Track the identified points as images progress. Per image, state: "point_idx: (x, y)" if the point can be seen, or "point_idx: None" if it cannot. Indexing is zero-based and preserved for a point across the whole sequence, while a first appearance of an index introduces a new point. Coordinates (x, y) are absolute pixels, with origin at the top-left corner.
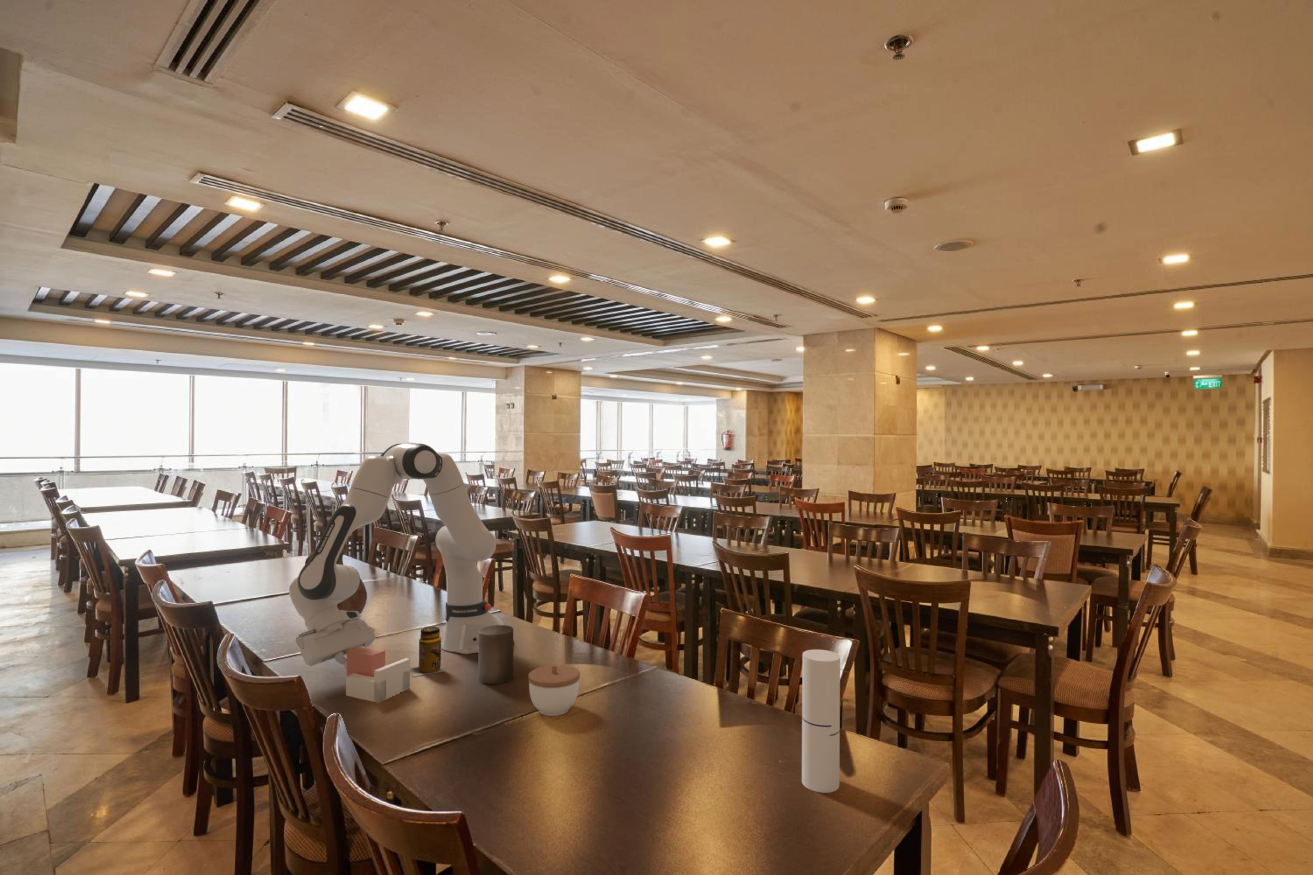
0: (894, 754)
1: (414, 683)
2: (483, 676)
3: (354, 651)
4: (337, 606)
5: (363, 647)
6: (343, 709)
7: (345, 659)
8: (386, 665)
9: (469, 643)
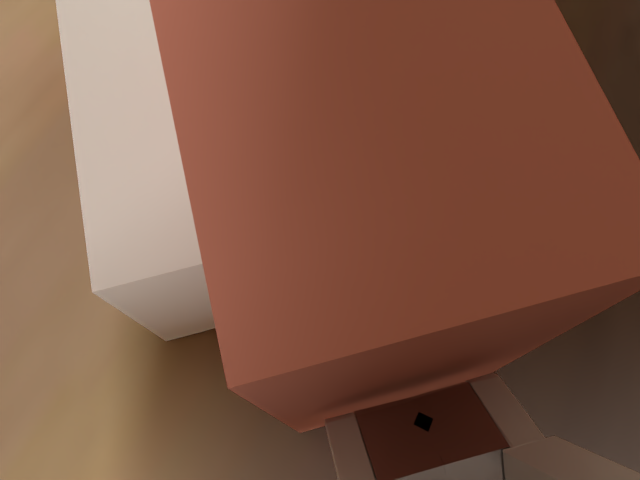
0: None
1: (14, 87)
2: None
3: (556, 71)
4: None
5: (259, 199)
6: (631, 8)
7: (565, 450)
8: (77, 158)
9: None
